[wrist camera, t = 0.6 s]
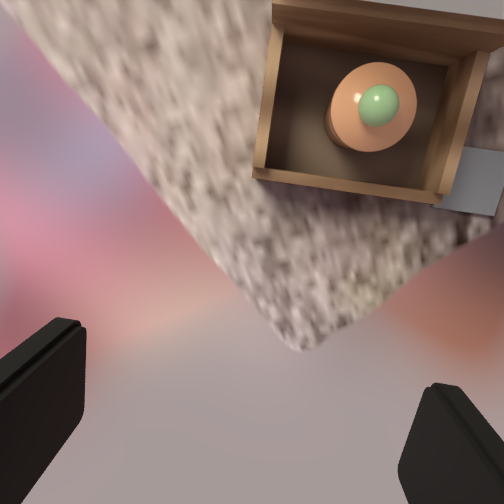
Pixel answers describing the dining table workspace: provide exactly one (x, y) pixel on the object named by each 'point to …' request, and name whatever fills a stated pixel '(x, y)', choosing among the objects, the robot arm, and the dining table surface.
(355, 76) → the terracotta pot
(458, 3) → the lid
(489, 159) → the slate tile
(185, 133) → the dining table surface
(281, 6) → the open wooden box
